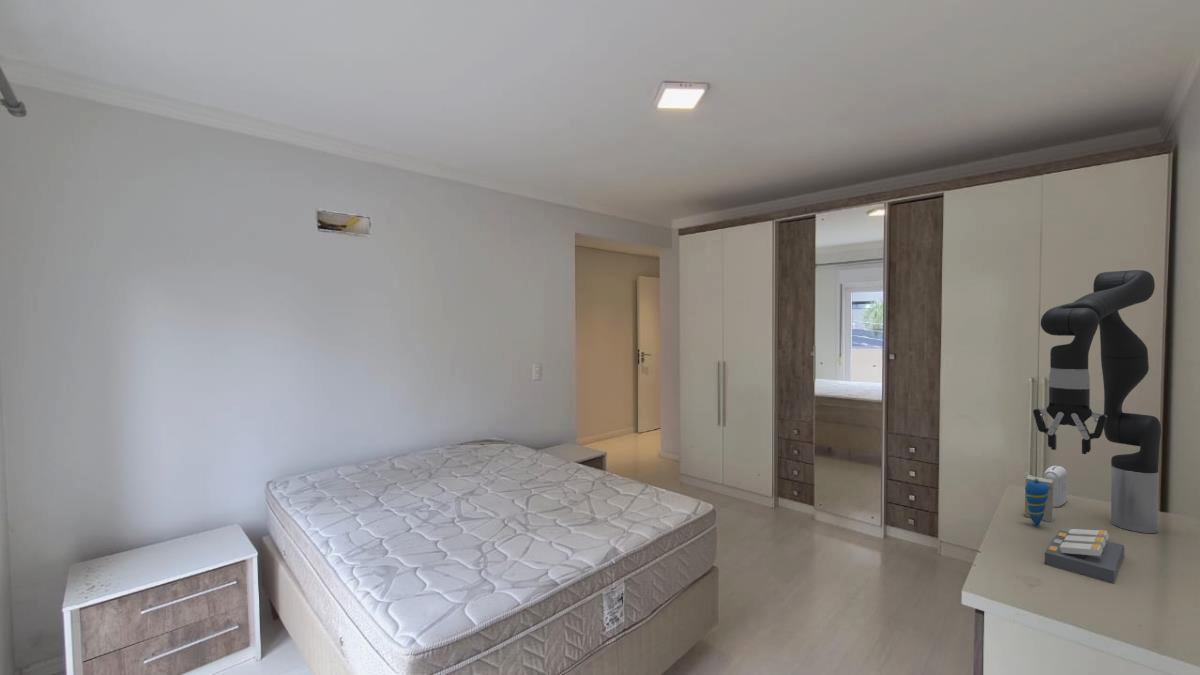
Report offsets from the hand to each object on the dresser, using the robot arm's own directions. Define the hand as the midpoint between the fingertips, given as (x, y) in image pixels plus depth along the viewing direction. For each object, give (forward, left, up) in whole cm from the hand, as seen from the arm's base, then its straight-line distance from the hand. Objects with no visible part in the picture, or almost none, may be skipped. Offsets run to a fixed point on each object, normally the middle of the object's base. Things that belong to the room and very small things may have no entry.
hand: (1068, 451), depth 124 cm
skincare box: (-26, -10, -28) cm, 39 cm away
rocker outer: (+6, +3, -23) cm, 24 cm away
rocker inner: (-6, +3, -23) cm, 24 cm away
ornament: (-17, -9, -28) cm, 34 cm away
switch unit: (0, +3, -27) cm, 28 cm away
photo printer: (-45, -9, -28) cm, 54 cm away
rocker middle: (0, +3, -23) cm, 23 cm away
